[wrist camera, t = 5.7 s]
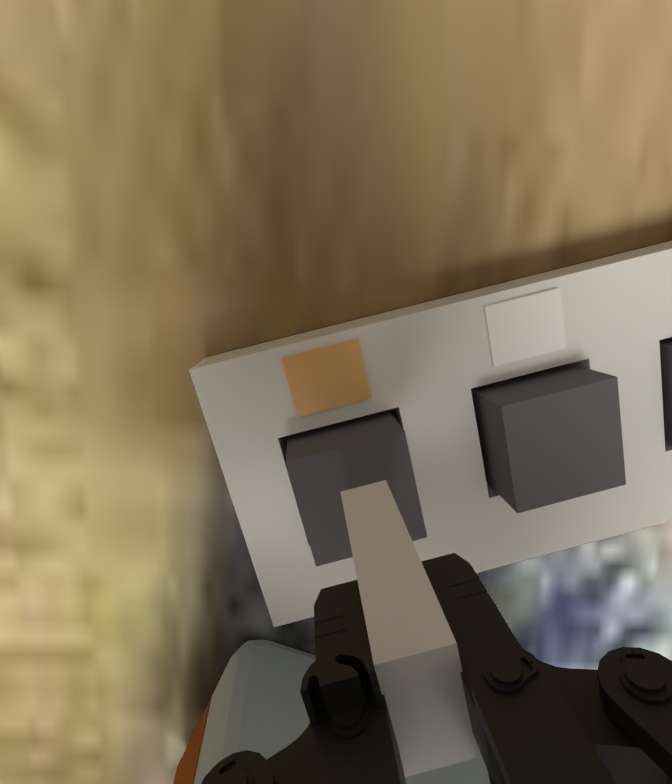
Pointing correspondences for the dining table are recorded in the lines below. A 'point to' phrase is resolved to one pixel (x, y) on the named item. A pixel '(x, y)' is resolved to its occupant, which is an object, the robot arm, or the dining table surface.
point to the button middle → (550, 435)
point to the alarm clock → (273, 716)
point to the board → (446, 414)
